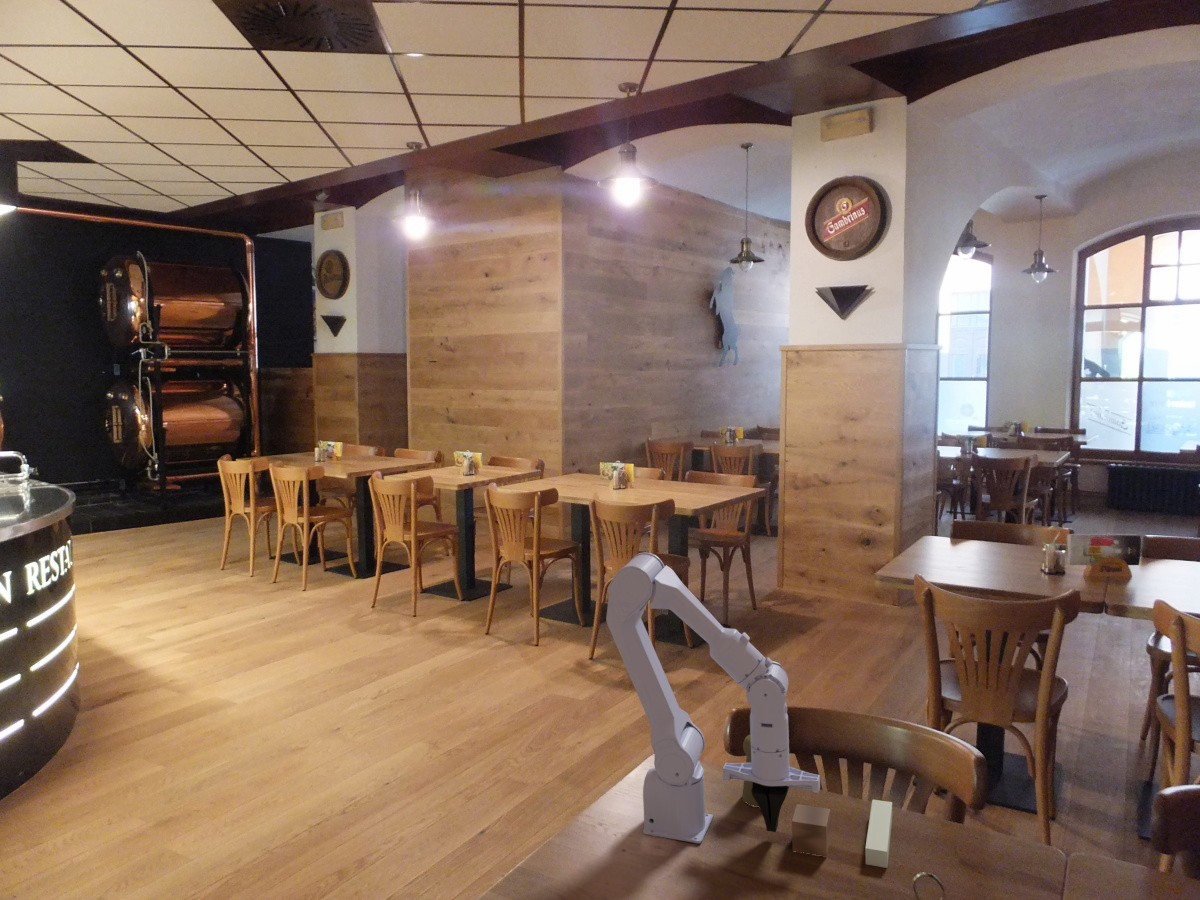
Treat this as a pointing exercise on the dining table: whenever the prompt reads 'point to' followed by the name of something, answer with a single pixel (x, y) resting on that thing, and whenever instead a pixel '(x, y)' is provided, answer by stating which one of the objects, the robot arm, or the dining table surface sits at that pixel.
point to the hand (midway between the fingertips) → (772, 828)
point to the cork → (748, 784)
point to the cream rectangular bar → (879, 834)
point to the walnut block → (811, 830)
